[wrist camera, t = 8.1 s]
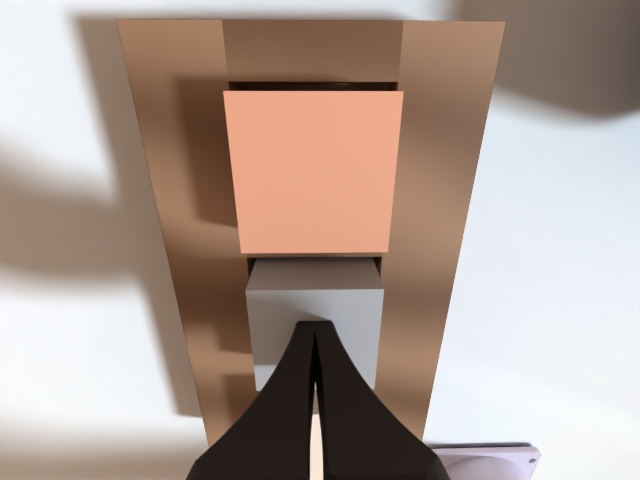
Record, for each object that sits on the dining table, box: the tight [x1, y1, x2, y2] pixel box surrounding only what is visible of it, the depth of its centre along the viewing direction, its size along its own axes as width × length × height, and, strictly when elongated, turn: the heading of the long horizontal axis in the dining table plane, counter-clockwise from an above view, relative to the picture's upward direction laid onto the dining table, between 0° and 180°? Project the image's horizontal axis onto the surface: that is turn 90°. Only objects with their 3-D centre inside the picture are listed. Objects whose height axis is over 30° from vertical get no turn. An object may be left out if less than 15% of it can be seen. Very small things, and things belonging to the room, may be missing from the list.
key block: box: [116, 19, 506, 448], centre depth 16 cm, size 22×12×3 cm, turn 0°
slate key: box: [245, 257, 384, 391], centre depth 14 cm, size 5×5×4 cm
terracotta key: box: [223, 91, 404, 253], centre depth 12 cm, size 5×5×4 cm
